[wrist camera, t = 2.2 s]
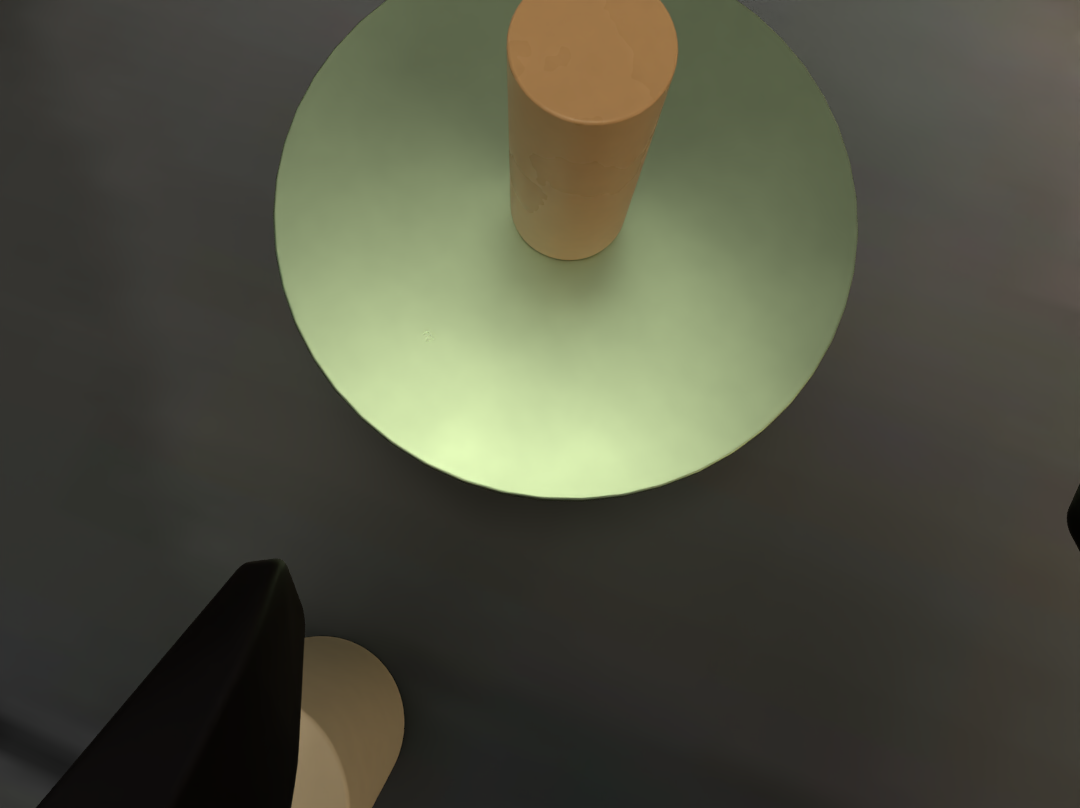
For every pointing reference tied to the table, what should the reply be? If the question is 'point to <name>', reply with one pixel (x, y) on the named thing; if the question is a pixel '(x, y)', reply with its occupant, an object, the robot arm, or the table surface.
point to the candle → (345, 726)
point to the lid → (565, 236)
